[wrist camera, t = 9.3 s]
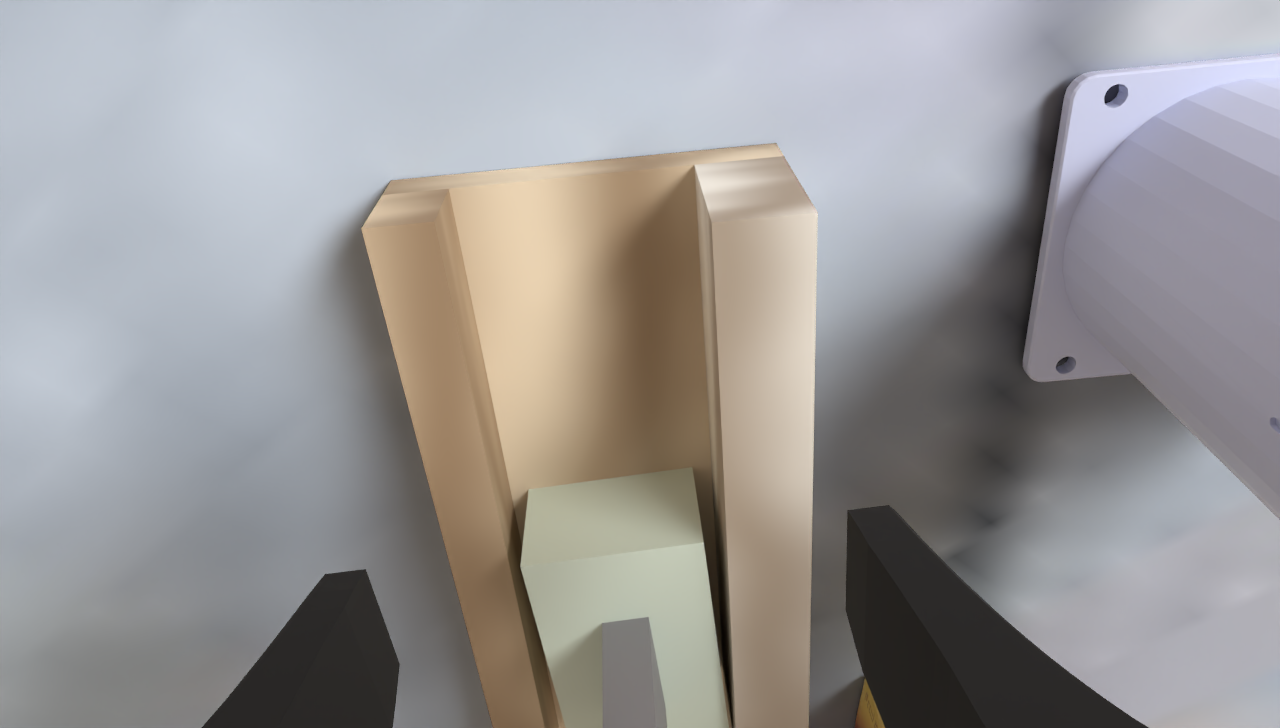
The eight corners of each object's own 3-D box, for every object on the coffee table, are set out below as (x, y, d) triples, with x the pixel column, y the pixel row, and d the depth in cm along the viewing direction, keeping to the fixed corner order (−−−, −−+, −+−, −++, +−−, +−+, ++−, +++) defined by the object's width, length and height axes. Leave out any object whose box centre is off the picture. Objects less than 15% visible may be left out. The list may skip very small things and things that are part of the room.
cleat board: (776, 143, 20) (817, 212, 17) (780, 709, 31) (806, 834, 27) (390, 180, 21) (342, 258, 17) (522, 733, 31) (511, 861, 27)
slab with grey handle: (692, 466, 24) (724, 676, 18) (719, 666, 28) (753, 892, 22) (528, 489, 24) (505, 705, 18) (579, 684, 28) (574, 914, 22)
